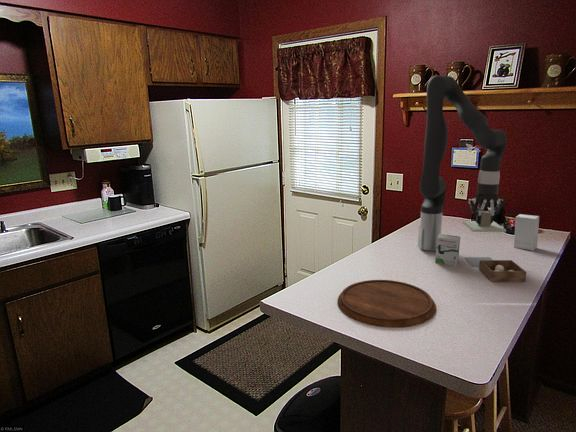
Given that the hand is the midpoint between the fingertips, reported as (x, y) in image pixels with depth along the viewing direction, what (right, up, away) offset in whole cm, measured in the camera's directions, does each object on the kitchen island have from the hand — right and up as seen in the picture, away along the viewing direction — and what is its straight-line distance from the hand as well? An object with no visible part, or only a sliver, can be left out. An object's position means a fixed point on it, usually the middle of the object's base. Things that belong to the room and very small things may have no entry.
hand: (483, 223), depth 167 cm
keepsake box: (+2, -20, -10) cm, 22 cm away
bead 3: (+4, -20, -13) cm, 24 cm away
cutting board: (-46, -27, -28) cm, 60 cm away
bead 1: (-1, -20, -12) cm, 23 cm away
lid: (0, -1, 0) cm, 1 cm away
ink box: (-13, -17, +5) cm, 22 cm away
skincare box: (+28, -11, +21) cm, 37 cm away
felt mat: (+1, -16, +4) cm, 17 cm away
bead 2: (+2, -19, -8) cm, 20 cm away
